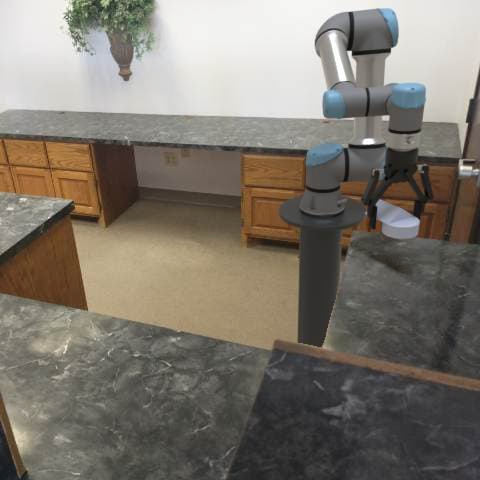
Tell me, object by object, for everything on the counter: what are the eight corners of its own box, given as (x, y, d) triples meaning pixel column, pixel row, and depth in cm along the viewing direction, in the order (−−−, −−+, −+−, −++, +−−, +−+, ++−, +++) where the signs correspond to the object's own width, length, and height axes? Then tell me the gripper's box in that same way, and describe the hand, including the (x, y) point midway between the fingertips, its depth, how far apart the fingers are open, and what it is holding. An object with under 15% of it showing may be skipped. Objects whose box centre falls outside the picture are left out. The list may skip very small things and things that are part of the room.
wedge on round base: (363, 224, 143) (399, 241, 132) (365, 202, 140) (402, 218, 129) (388, 216, 146) (425, 233, 135) (391, 195, 143) (429, 210, 132)
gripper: (360, 155, 126) (354, 235, 136) (457, 147, 125) (444, 227, 135) (351, 147, 133) (346, 223, 143) (442, 138, 132) (431, 216, 141)
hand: (393, 225), depth 139 cm, fingers closed on wedge on round base, 11 cm apart
